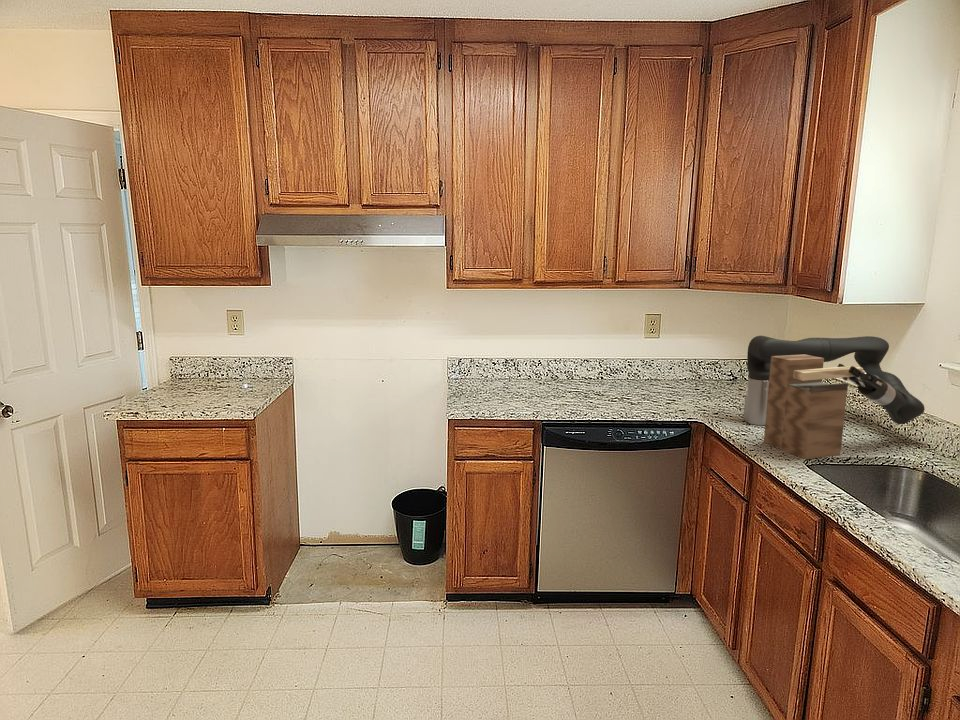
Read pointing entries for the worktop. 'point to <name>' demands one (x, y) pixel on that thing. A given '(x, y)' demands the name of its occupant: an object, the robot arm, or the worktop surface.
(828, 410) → the stepped shelf
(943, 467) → the worktop surface
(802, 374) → the birch plank
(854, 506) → the worktop surface
